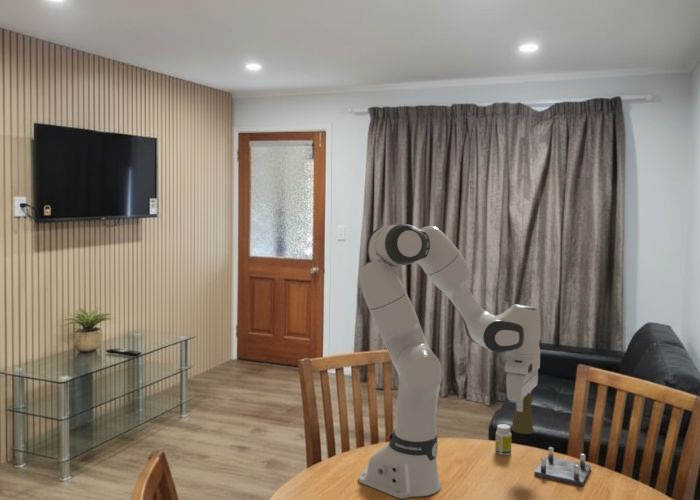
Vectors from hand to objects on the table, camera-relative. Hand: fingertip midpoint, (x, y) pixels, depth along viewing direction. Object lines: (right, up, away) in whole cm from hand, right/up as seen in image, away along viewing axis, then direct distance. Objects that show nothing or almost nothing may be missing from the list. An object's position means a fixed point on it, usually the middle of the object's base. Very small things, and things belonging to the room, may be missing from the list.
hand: (522, 408), depth 177 cm
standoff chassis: (+12, -19, 0) cm, 22 cm away
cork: (0, -7, +1) cm, 7 cm away
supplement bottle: (-2, -18, +14) cm, 23 cm away
